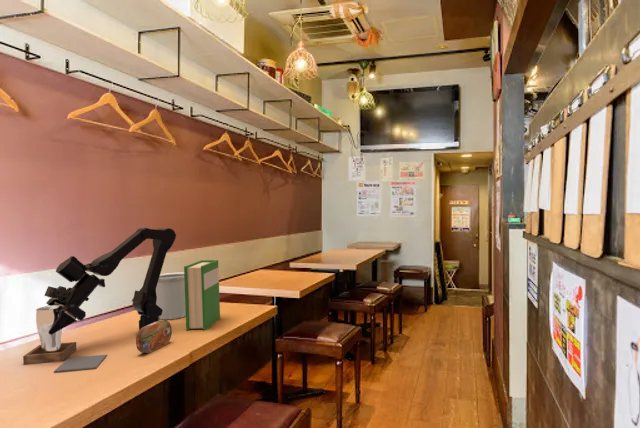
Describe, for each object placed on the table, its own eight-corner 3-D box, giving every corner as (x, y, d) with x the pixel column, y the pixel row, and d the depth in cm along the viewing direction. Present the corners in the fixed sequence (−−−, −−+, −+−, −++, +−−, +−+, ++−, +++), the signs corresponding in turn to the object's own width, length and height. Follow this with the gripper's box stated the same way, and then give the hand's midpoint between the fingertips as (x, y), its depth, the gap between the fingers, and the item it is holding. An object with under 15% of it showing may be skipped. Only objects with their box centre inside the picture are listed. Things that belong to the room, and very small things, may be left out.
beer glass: (52, 359, 132) (48, 311, 131) (33, 358, 133) (29, 310, 132) (70, 350, 138) (66, 304, 138) (51, 350, 140) (48, 304, 139)
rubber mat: (107, 356, 135) (107, 354, 135) (96, 368, 124) (96, 367, 124) (68, 359, 132) (68, 357, 132) (54, 372, 122) (53, 371, 122)
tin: (142, 357, 133) (141, 329, 133) (134, 356, 134) (133, 329, 134) (173, 341, 147) (172, 317, 147) (165, 341, 148) (164, 316, 148)
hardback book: (205, 330, 160) (203, 266, 159) (186, 330, 160) (184, 266, 160) (220, 318, 177) (218, 260, 177) (202, 318, 178) (200, 260, 178)
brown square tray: (76, 349, 142) (76, 341, 142) (63, 360, 131) (63, 352, 131) (39, 352, 140) (39, 344, 140) (23, 364, 129) (23, 356, 129)
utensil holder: (146, 318, 180) (144, 277, 179) (171, 310, 193) (170, 271, 193) (174, 321, 174) (172, 278, 174) (198, 312, 188) (196, 272, 187)
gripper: (51, 273, 144) (14, 313, 136) (72, 278, 132) (33, 322, 124) (78, 292, 150) (44, 332, 142) (100, 299, 138) (64, 342, 130)
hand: (45, 331), depth 134 cm, fingers closed on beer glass, 7 cm apart
